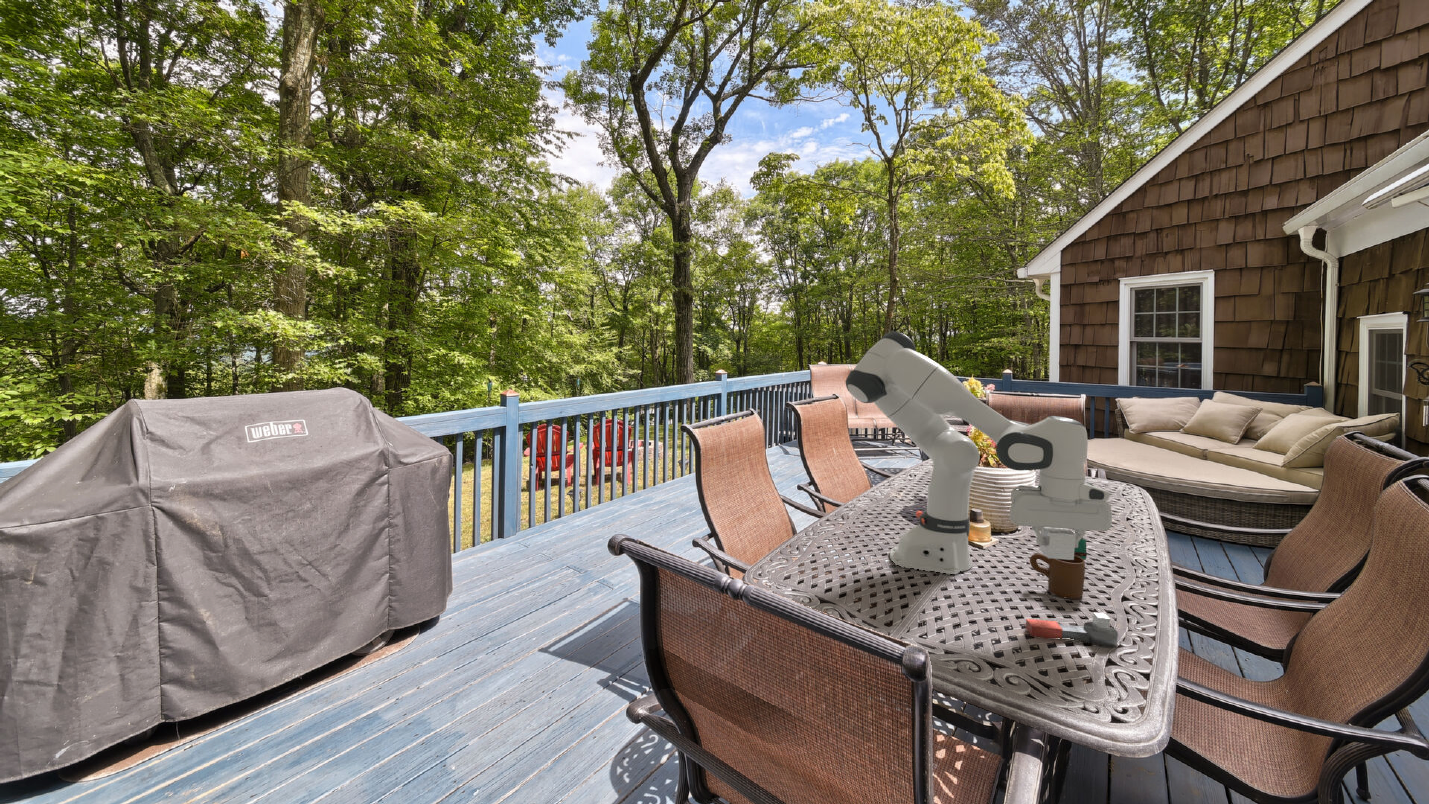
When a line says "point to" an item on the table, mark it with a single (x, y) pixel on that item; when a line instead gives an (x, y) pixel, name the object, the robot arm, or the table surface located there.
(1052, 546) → the silver metal block
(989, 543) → the table surface
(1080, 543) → the binoculars
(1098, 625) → the ratchet
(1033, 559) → the mug
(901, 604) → the table surface
